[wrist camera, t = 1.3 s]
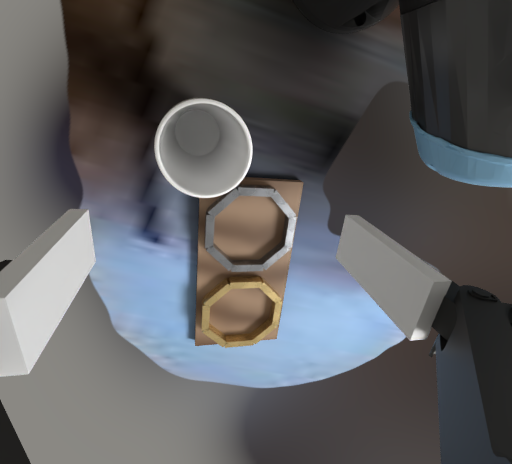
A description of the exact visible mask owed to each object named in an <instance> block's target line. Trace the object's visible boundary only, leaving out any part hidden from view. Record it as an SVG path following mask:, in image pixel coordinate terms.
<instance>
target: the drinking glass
mask: <svg viewBox="0 0 512 464" xmlns="http://www.w3.org/2000/svg"><path fill="white" fill-rule="evenodd" d="M154 149H155V156H156V160H157V164H158V166H159V168H160V170H161V172H162V174H163V175H164V177H165V178H166V179H167V180H168V182H169V183H170V184H171V185H173V186H174V187H175V188H176V189H178V190H179V191H181V192H183V193H185V194H187V195H190V196H194V197H199V198H212V197H217V196H220V195H223V194H226V193H227V192H229V191H231V190H232V189H234V188H235V187H236V186H237V185H238V184H239V183H240V182H241V181H242V180H243V178H244V177H245V175H246V174H247V172H248V170H249V167H250V164H251V160H252V140H251V136H250V133H249V130H248V128H247V126H246V124H245V123H244V121H243V120H242V118H241V117H240V116H239V115H238V114H237V113H236V112H235V111H234V110H233V109H231V108H230V107H228V106H227V105H225V104H223V103H221V102H219V101H216V100H213V99H210V98H201V97H198V98H190V99H186V100H184V101H181V102H179V103H177V104H176V105H174V106H173V107H172V108H171V109H170V110H169V111H168V112H167V113H166V114H165V115H164V117H163V118H162V120H161V122H160V124H159V126H158V129H157V132H156V136H155V143H154Z"/></svg>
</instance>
